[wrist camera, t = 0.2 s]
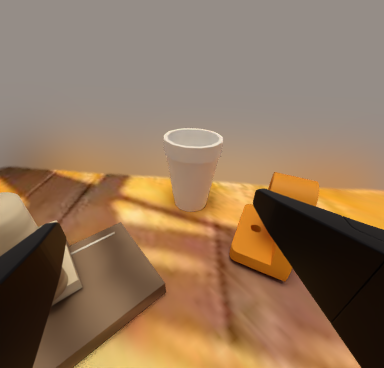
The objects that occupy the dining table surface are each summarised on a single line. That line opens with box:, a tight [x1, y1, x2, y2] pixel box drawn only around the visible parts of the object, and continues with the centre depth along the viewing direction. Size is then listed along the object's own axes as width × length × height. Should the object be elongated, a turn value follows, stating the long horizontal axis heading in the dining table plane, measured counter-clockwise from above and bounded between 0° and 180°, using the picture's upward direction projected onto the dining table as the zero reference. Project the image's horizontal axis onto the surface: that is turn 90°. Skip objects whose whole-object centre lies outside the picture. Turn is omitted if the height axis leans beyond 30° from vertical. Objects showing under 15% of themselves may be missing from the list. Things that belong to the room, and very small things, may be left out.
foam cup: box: [164, 128, 223, 212], centre depth 32 cm, size 10×9×13 cm
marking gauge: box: [0, 192, 82, 305], centre depth 18 cm, size 5×10×14 cm, turn 41°
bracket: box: [229, 172, 319, 282], centre depth 24 cm, size 11×7×12 cm, turn 155°
